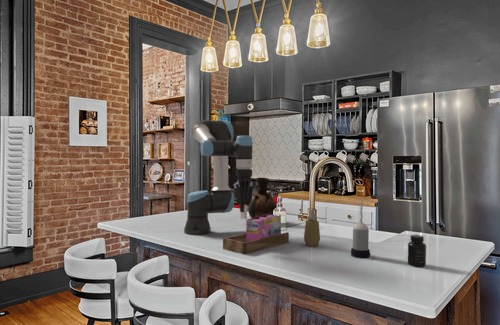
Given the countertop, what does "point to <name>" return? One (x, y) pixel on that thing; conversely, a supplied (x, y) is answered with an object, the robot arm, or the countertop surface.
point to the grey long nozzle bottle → (360, 238)
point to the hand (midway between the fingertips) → (243, 218)
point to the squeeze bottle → (312, 230)
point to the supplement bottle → (417, 251)
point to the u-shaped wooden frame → (253, 243)
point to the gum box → (263, 227)
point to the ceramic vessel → (261, 200)
